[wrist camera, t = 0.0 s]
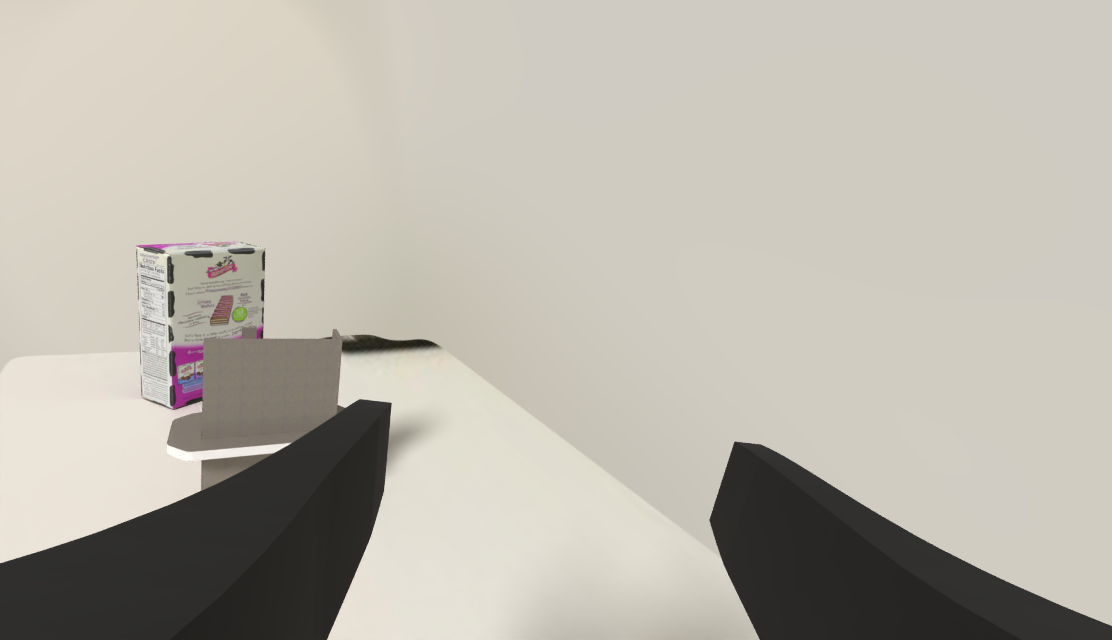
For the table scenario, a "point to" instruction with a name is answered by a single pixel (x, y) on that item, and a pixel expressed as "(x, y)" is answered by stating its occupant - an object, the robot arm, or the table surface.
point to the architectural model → (257, 401)
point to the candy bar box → (193, 311)
